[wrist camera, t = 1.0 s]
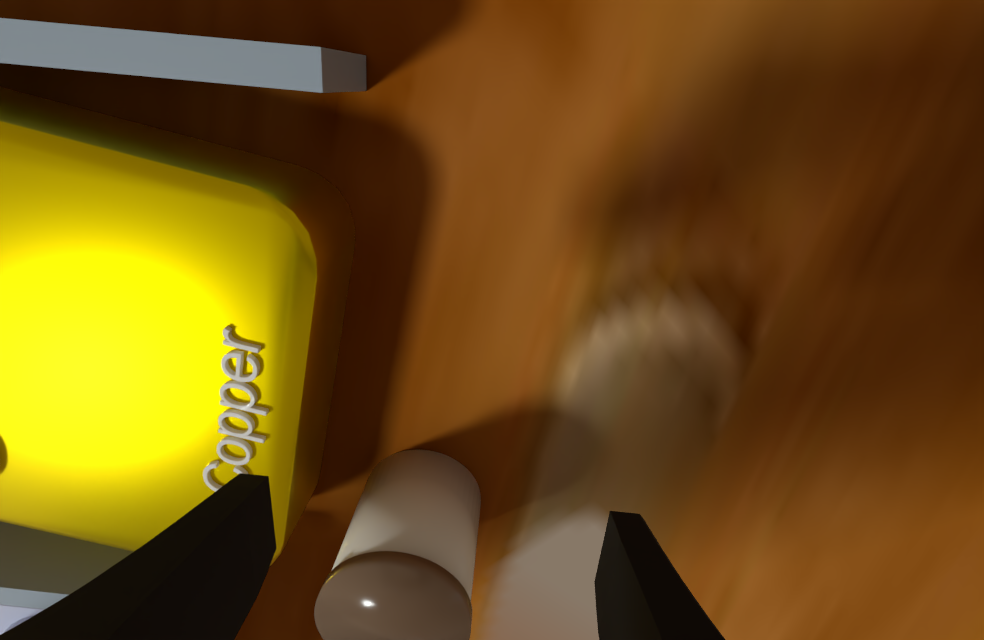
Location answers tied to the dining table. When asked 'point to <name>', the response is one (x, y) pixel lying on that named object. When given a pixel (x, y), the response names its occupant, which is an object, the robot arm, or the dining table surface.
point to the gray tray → (34, 553)
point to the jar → (406, 554)
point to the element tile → (159, 323)
